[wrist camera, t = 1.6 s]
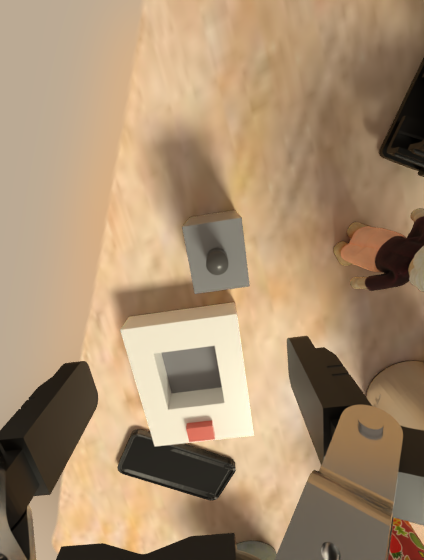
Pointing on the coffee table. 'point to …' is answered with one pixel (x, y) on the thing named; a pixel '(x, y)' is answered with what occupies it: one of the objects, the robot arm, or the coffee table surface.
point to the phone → (176, 466)
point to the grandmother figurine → (385, 255)
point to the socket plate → (190, 373)
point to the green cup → (258, 549)
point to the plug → (216, 251)
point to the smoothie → (405, 542)
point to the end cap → (408, 129)
